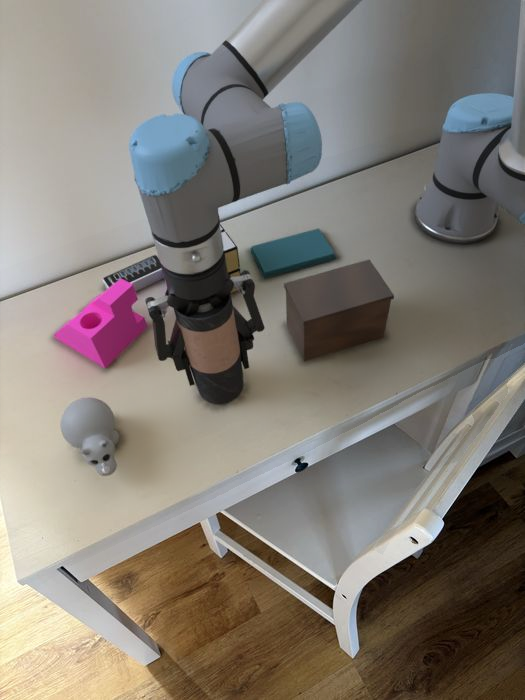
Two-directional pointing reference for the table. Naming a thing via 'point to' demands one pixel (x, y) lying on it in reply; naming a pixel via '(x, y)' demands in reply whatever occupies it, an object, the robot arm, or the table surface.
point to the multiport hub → (138, 273)
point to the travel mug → (213, 351)
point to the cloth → (292, 253)
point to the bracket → (105, 325)
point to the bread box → (337, 309)
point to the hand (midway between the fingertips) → (217, 369)
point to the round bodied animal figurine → (92, 432)
